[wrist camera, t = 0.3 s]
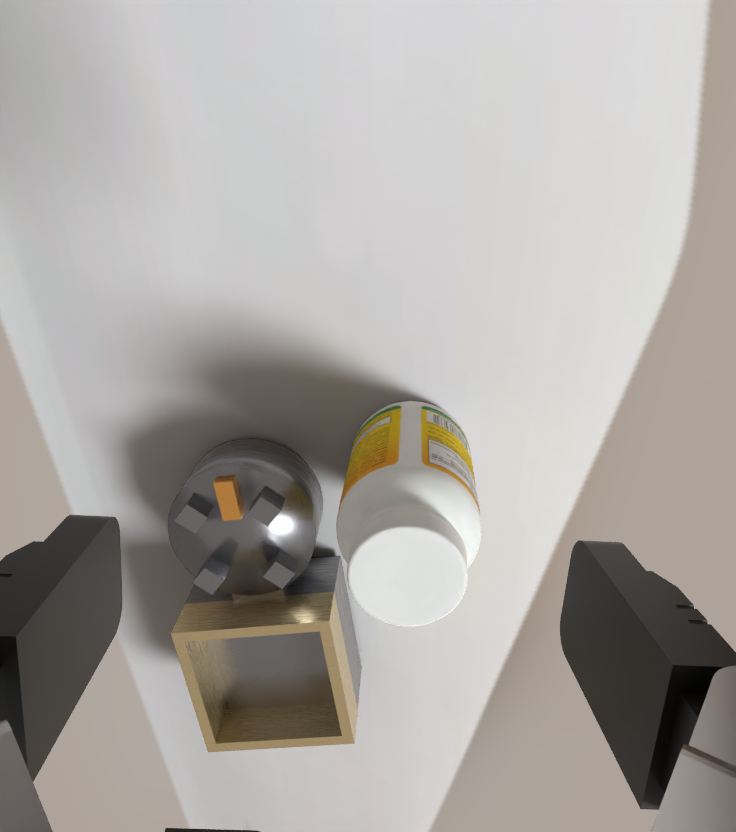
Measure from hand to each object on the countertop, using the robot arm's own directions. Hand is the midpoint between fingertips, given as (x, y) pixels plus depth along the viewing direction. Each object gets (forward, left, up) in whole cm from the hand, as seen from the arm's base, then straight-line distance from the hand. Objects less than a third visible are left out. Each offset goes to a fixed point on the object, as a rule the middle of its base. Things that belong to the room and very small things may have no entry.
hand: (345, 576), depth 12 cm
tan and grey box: (+11, -7, -18) cm, 22 cm away
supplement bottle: (+6, 0, -18) cm, 19 cm away
